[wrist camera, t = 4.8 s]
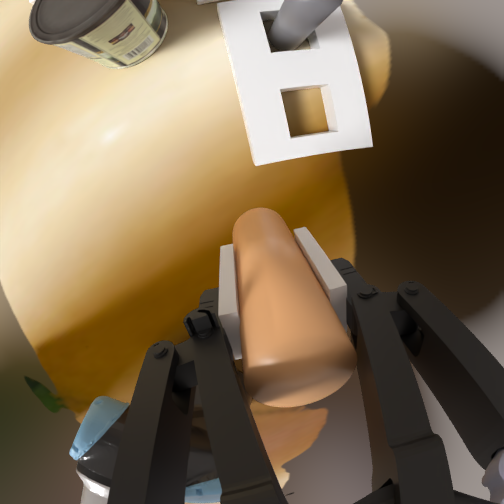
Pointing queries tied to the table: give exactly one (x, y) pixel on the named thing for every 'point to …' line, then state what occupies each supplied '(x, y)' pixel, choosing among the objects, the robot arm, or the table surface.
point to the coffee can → (101, 28)
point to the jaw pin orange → (285, 318)
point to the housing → (293, 82)
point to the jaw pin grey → (299, 21)
